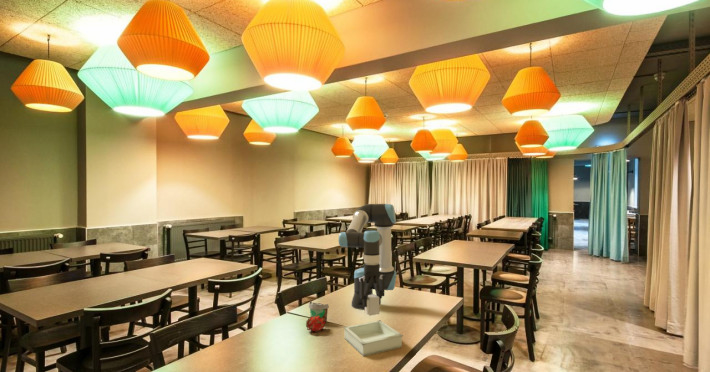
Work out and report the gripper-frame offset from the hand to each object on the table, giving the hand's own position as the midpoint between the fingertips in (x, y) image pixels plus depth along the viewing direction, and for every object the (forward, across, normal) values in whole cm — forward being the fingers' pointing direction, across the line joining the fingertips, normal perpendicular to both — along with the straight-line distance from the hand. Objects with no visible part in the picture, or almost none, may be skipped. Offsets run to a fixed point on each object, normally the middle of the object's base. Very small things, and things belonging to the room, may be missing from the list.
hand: (372, 312), depth 163 cm
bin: (+15, 0, 0) cm, 15 cm away
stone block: (0, 0, 0) cm, 0 cm away
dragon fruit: (+15, +19, -26) cm, 35 cm away
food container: (+15, +15, -37) cm, 43 cm away
